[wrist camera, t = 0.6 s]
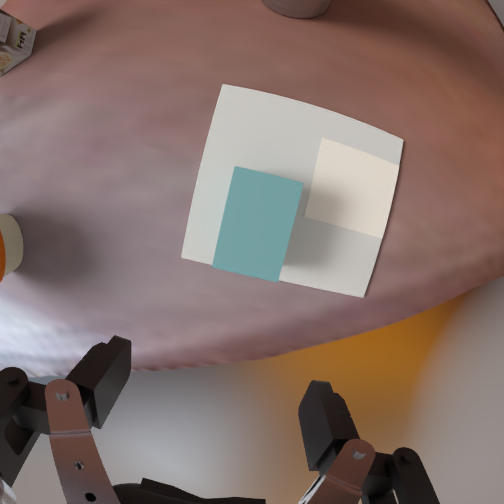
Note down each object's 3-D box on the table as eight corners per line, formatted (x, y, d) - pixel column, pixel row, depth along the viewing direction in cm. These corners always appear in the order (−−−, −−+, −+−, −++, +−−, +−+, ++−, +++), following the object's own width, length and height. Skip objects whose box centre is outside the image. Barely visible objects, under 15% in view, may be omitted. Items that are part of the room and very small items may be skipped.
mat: (223, 85, 27) (222, 83, 26) (401, 140, 28) (403, 139, 28) (182, 256, 31) (180, 257, 30) (361, 296, 32) (363, 298, 32)
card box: (237, 171, 28) (234, 165, 23) (292, 184, 29) (303, 182, 23) (218, 252, 30) (211, 267, 24) (272, 265, 31) (277, 282, 25)
